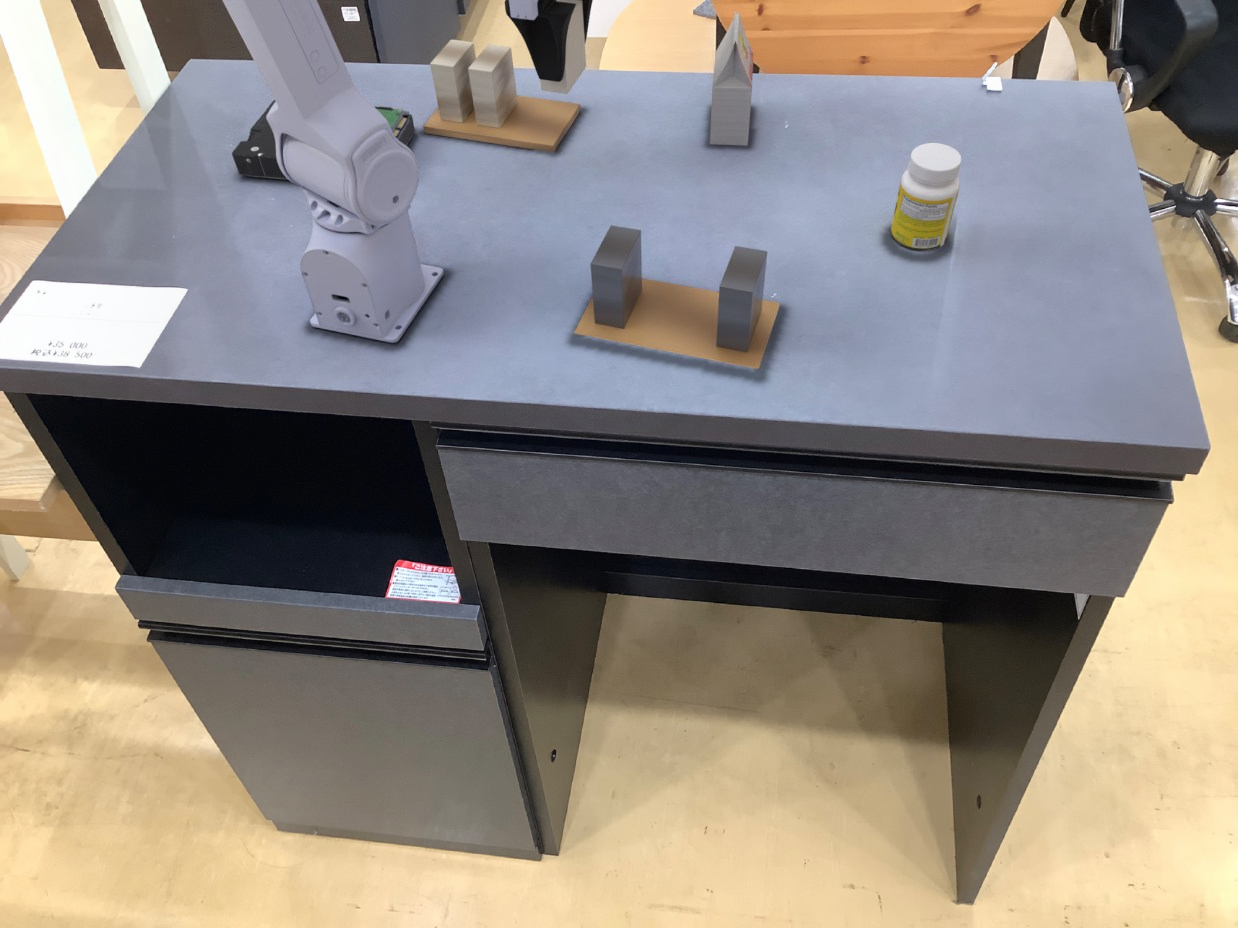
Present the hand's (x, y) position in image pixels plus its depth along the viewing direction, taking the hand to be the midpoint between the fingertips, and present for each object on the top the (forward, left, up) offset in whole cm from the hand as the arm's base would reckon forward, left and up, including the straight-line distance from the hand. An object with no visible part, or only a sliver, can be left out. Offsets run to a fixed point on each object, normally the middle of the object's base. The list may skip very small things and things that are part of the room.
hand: (561, 63), depth 87 cm
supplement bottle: (-3, -33, -10) cm, 35 cm away
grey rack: (-19, -15, -10) cm, 27 cm away
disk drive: (-4, +24, -10) cm, 26 cm away
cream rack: (+6, +9, -10) cm, 15 cm away
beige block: (0, 0, -1) cm, 1 cm away
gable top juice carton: (+11, -13, -10) cm, 20 cm away
